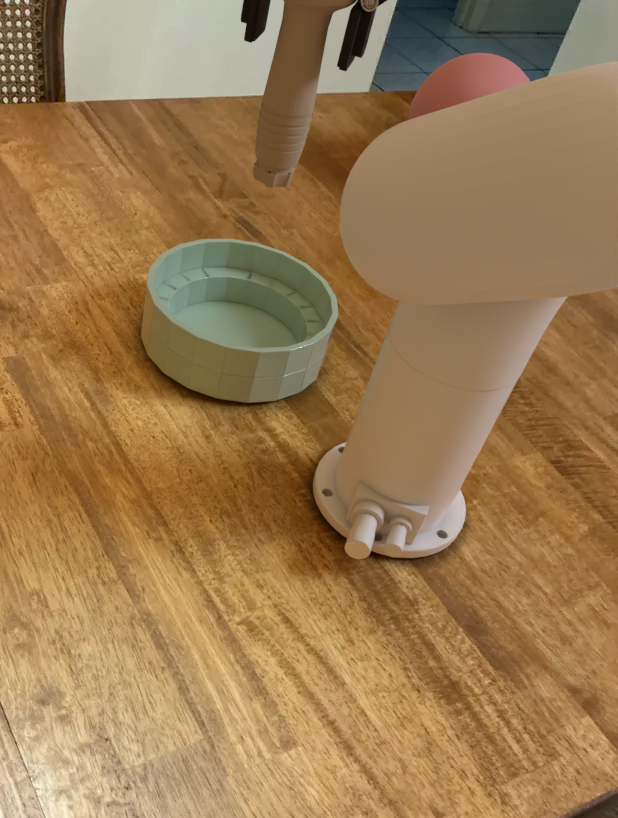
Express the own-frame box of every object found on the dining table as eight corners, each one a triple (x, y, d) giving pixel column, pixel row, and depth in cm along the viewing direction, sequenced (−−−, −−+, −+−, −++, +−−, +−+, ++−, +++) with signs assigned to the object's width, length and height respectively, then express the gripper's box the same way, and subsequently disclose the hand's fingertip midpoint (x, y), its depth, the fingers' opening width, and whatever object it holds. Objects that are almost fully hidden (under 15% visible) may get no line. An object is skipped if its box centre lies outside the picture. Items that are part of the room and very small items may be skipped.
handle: (305, 203, 69) (358, -9, 58) (227, 183, 69) (264, -33, 58) (314, 177, 72) (366, -29, 61) (239, 157, 73) (277, -52, 61)
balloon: (536, 243, 106) (597, 114, 94) (378, 191, 108) (420, 59, 96) (547, 190, 116) (604, 68, 104) (402, 144, 118) (443, 19, 107)
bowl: (293, 430, 76) (310, 376, 72) (111, 365, 78) (116, 308, 73) (340, 328, 87) (356, 275, 83) (179, 273, 89) (187, 219, 85)
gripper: (208, -318, 49) (170, 32, 62) (511, -240, 47) (404, 103, 60) (249, -321, 54) (205, 3, 67) (523, -251, 52) (422, 68, 65)
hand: (300, 48), depth 63 cm, fingers closed on handle, 6 cm apart
